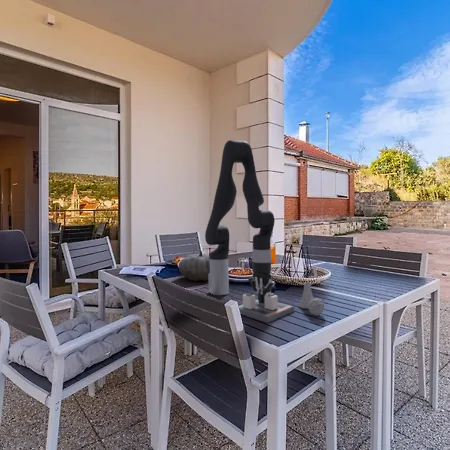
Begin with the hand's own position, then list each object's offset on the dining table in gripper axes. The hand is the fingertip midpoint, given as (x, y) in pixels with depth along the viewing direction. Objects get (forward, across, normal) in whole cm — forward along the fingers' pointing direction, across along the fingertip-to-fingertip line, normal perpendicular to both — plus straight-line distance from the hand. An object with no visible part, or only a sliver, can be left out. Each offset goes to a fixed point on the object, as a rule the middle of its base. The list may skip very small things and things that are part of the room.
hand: (261, 302), depth 130 cm
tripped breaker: (+1, +5, 0) cm, 5 cm away
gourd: (+5, -63, +20) cm, 66 cm away
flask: (+4, +11, +17) cm, 20 cm away
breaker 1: (+1, -2, -5) cm, 6 cm away
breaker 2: (+1, -2, +5) cm, 6 cm away
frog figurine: (+4, +19, +10) cm, 21 cm away
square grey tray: (+4, +1, 0) cm, 4 cm away
